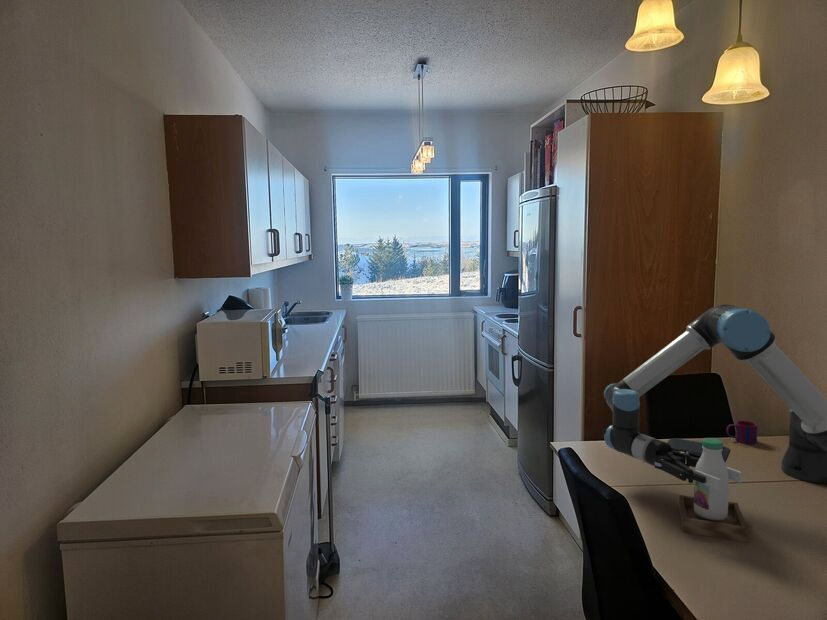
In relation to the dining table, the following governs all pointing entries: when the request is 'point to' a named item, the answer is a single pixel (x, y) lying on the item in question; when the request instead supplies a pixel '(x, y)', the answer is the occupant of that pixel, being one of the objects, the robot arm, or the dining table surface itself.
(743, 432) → the mug
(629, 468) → the dining table surface
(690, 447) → the dark grey flat slab
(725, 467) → the milk bottle
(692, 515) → the walnut tray
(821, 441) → the robot arm
